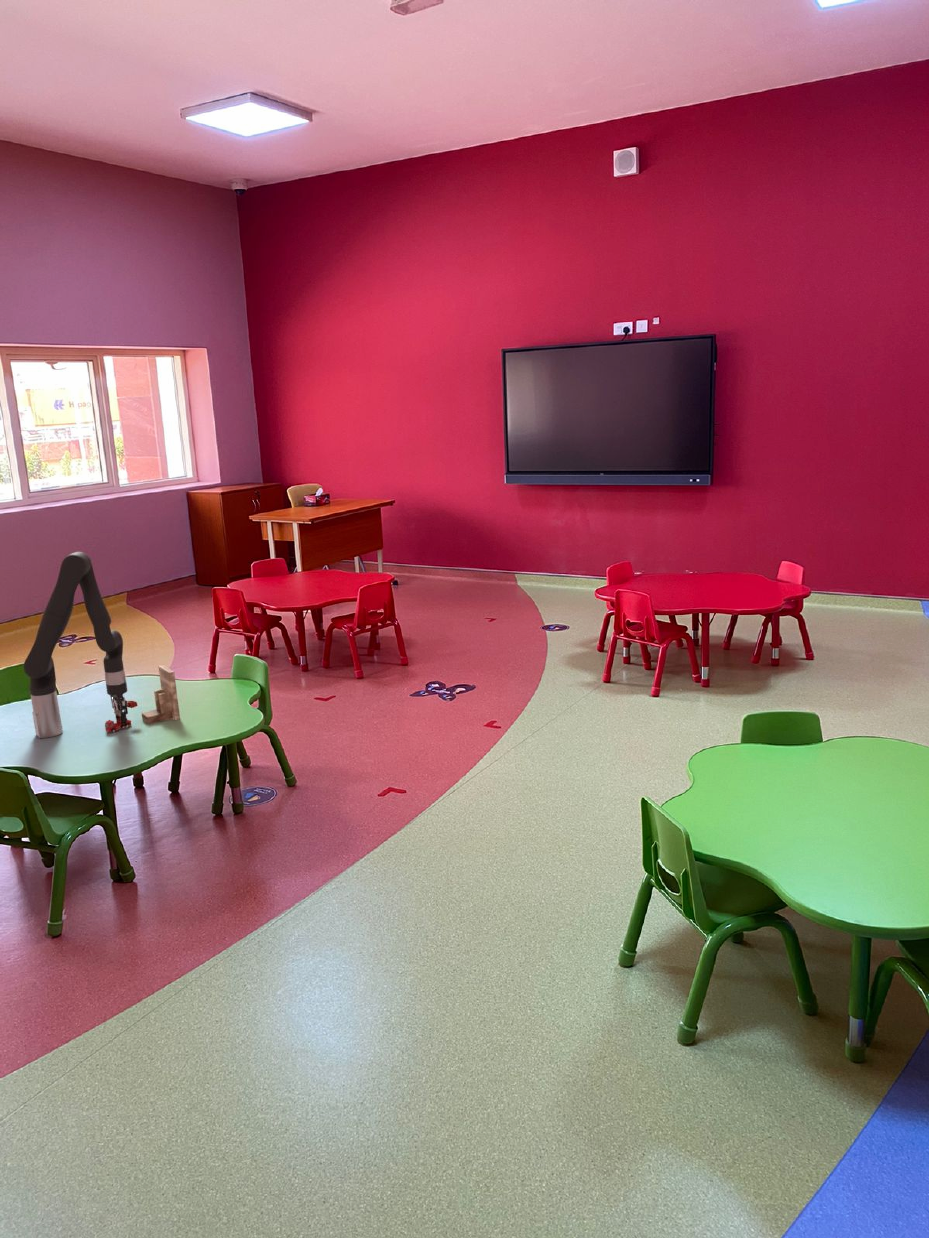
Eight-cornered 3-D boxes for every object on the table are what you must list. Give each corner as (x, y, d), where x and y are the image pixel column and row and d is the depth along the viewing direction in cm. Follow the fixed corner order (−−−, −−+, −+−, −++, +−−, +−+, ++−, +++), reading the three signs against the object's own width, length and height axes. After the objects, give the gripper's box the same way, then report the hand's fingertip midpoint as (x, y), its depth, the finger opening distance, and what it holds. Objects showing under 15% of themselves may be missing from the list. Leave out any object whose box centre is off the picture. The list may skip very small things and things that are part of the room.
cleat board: (150, 726, 364) (144, 678, 359) (140, 717, 374) (133, 671, 369) (180, 719, 370) (174, 671, 366) (169, 710, 381) (163, 664, 376)
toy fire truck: (104, 732, 359) (101, 709, 357) (135, 721, 370) (132, 699, 367) (109, 734, 357) (105, 710, 355) (140, 723, 368) (137, 700, 366)
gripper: (100, 679, 362) (106, 719, 367) (111, 687, 351) (117, 729, 355) (120, 675, 367) (125, 714, 371) (131, 683, 355) (137, 724, 360)
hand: (121, 721), depth 363 cm, fingers open, 5 cm apart
